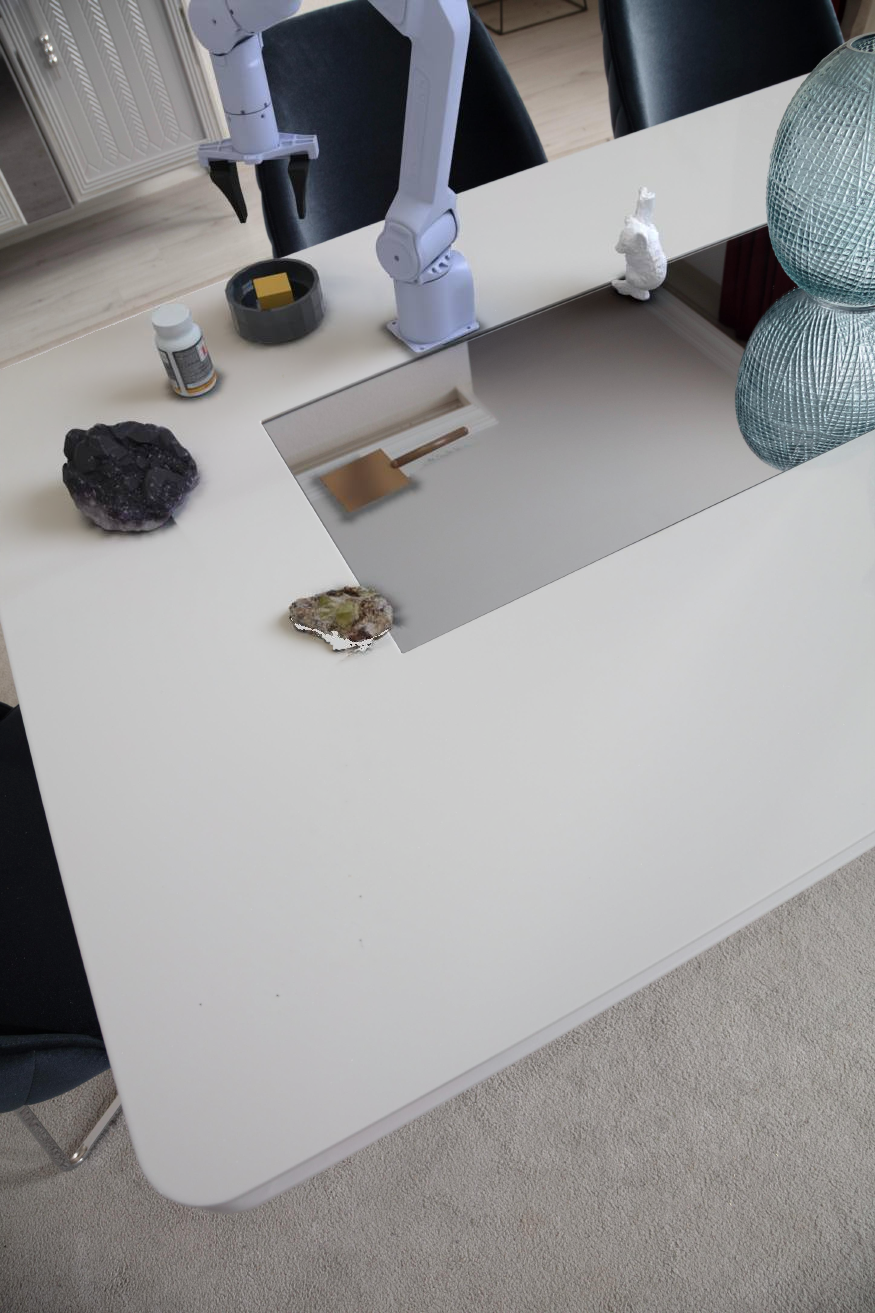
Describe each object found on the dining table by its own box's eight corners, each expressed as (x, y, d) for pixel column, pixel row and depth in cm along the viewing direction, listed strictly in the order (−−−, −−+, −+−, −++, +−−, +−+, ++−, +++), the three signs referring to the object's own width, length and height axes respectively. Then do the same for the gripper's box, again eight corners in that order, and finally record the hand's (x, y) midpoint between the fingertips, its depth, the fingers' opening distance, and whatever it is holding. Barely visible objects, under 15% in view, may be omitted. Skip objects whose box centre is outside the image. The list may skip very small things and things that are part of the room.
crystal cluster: (226, 493, 105) (203, 416, 98) (126, 555, 99) (93, 478, 91) (158, 453, 112) (132, 378, 105) (61, 508, 105) (26, 433, 98)
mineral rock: (402, 575, 91) (383, 622, 85) (406, 611, 94) (388, 660, 88) (298, 570, 93) (272, 616, 87) (305, 606, 96) (280, 653, 90)
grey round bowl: (300, 281, 128) (292, 247, 124) (341, 321, 122) (335, 287, 118) (220, 314, 125) (210, 280, 121) (258, 357, 119) (249, 323, 115)
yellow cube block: (292, 302, 125) (285, 271, 121) (298, 320, 122) (291, 289, 119) (260, 309, 124) (252, 279, 121) (265, 327, 122) (257, 297, 118)
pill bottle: (222, 369, 118) (199, 299, 110) (211, 398, 114) (187, 328, 106) (179, 370, 118) (154, 300, 111) (167, 399, 115) (140, 328, 107)
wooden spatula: (451, 418, 108) (450, 409, 107) (484, 450, 105) (484, 441, 104) (319, 481, 104) (317, 473, 103) (349, 516, 100) (347, 508, 99)
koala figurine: (613, 272, 123) (620, 181, 114) (665, 273, 122) (676, 182, 113) (608, 309, 119) (614, 218, 109) (661, 311, 117) (673, 219, 108)
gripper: (180, 124, 106) (213, 237, 117) (304, 114, 105) (326, 229, 116) (191, 96, 111) (222, 208, 121) (311, 87, 109) (331, 200, 120)
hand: (273, 217), depth 119 cm, fingers open, 7 cm apart
